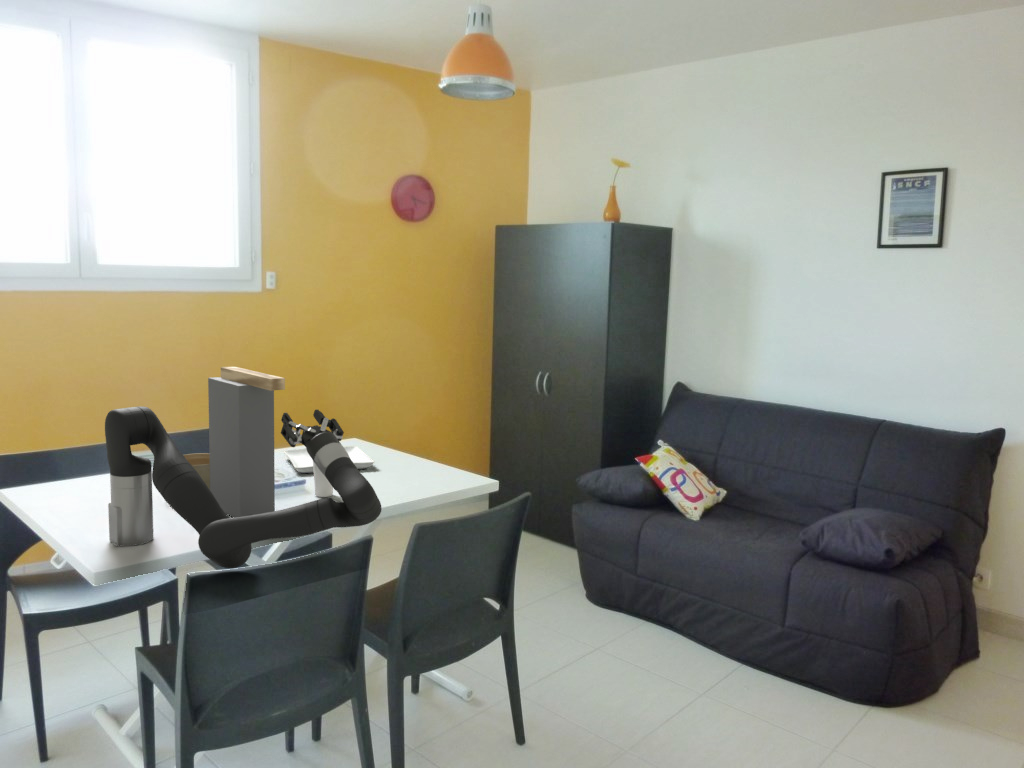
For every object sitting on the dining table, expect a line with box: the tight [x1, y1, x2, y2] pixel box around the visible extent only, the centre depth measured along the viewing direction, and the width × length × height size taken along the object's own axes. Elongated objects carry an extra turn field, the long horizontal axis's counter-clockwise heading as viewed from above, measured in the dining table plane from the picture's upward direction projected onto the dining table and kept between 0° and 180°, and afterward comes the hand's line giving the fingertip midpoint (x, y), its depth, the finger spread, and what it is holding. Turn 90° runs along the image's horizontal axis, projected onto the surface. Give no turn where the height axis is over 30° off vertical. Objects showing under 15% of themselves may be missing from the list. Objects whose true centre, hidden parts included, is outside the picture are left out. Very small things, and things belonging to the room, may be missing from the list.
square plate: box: [282, 445, 375, 474], centre depth 282 cm, size 27×27×4 cm
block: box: [220, 366, 286, 391], centre depth 214 cm, size 4×30×3 cm, turn 43°
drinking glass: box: [313, 461, 334, 498], centre depth 241 cm, size 7×7×15 cm
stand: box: [207, 376, 276, 518], centre depth 222 cm, size 10×20×37 cm, turn 43°
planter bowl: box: [182, 452, 210, 489], centre depth 238 cm, size 16×16×11 cm
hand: (300, 413), depth 196 cm, fingers open, 8 cm apart
